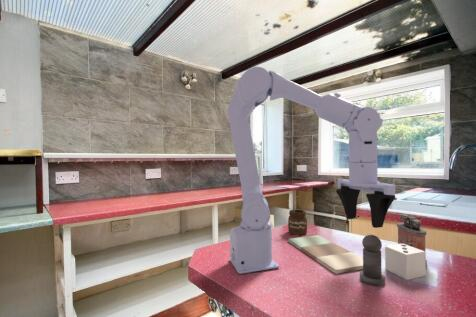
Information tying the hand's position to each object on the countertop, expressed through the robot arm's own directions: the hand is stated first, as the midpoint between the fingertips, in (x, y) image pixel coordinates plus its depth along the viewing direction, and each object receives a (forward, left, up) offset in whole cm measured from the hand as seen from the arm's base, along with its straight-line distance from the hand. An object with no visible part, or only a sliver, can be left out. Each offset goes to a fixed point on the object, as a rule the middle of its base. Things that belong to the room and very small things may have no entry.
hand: (363, 222), depth 56 cm
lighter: (+13, -1, -10) cm, 17 cm away
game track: (-4, +9, -10) cm, 14 cm away
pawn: (-4, -6, -10) cm, 12 cm away
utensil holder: (-2, +26, -10) cm, 28 cm away
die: (+5, -6, -10) cm, 12 cm away
